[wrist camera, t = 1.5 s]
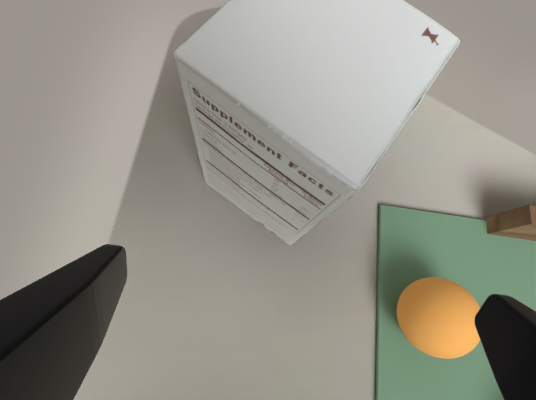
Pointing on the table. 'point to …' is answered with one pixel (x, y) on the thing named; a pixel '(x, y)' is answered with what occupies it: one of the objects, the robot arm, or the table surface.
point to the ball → (438, 317)
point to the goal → (514, 223)
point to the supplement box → (304, 99)
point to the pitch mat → (452, 268)
